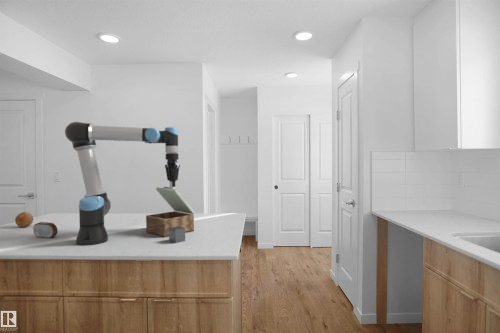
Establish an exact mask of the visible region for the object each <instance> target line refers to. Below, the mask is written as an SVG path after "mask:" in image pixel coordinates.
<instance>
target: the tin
mask: <svg viewBox="0 0 500 333" xmlns="http://www.w3.org/2000/svg"><path fill="white" fill-rule="evenodd" d="M32 228H33V233H34V234H33V235H35V237H37V238H41V239H51V238H55V237H56V236H57V235H58V227H57V225H56V224H55V223H54V222H43V221H40V222H37V223H35V224H34V225H33V227H32Z"/></svg>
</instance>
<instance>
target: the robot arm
mask: <svg viewBox="0 0 500 333" xmlns="http://www.w3.org/2000/svg"><path fill="white" fill-rule="evenodd" d="M64 134H65V137H66V139H67V140H68V141H69V142H71V144H72V148H73V150H74V151H76V152H77V158H78V161H79V166H80V170H81V175H82V180H83V184H84V188H85V194H84V196H83V198H81V199H80V200H79V202H78V209H79V210H78V211H79V213H78V214H79V230H78V233H77V236H76V239H75V243H76V245H79V246H80V245H81V246H91V245H98V244H102V243H106V242H107V241H108V240H109V235H108V231H107V230H106V227H105V216H106V215H107V214H108V213H109V211H110V210H111V206H112V204H111V201H110V199H109V198H108V194H107V190H104V189H103V184H102V181H101V176H100V172H99V165H98V162H97V157H96V152H95V149H96V147H97V143H96V141H113V142H114V141H116V142H117V141H118V142H144V143H145V144H151V145H152V144H165V146H164V148H165V160H166V164H164V168H165V173H166V178H167V179H166V180H167V181H168V182H169V187H172V188H173V189H176V182H177V181H178V180H179V172H180V167H181V166H180V164H178V160H179V130H178V128H177V127H174V126H172V127H171V126H168V127H165V128H164V130H158V129H157V128H155V127H132V126H109V125H94V124H93V123H90V122H81V121H73V122H71V123H68V125H67V126H65V130H64Z"/></svg>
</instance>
